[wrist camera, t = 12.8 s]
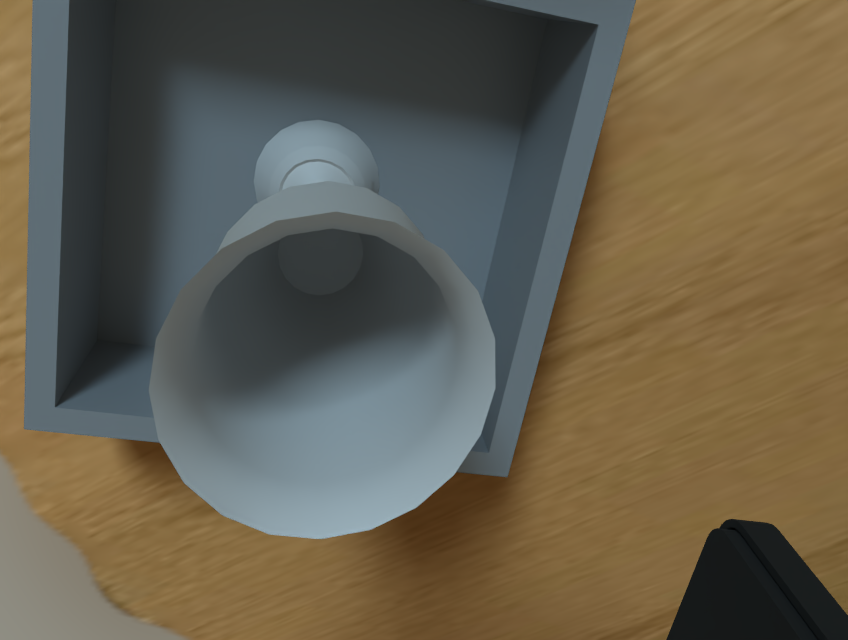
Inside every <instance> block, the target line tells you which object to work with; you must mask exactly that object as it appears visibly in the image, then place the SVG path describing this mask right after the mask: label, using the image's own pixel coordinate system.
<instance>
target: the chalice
mask: <svg viewBox="0 0 848 640" xmlns="http://www.w3.org/2000/svg"><path fill="white" fill-rule="evenodd" d="M254 186H255V192H256V199H257V202H258V203H257V204H255V205H254V206H253V207H252V208H251V209H250V210H249V211H248V212H247V213H246V214H245V215H244V216H243V217H242V218H241V219H240V220H239V221H238V222H237V223H236V224H235V225H234V226H233V227H232V228H231V229H230V230H229V231H228V232H227V234H226V236H225V237H224V239H223V241H222V243H221V245H220V247H219V249H218V251H217V253H216V255H215V256H214V257H213V258H212V259H211V260H210V261H209V262H208V263H207V264H206V265H205V266H204V267H203V268H202V269H201V270H200V271H199V272H198V273H197V274H196V275H195V276H194V277H193V278H192V279H191V280H190V281H189V282H188V283H187V284H186V285H185V286H184V287H183V288H182V289H181V290H180V292H179V294H178V296H177V298H176V300H175V302H174V304H173V306H172V308H171V310H170V312H169V314H168V316H167V318H166V320H165V322H164V324H163V326H162V328H161V330H160V332H159V334H158V336H157V338H156V342H155V349H154V356H153V364H152V371H151V378H150V385H149V395H150V400H151V405H152V410H153V415H154V420H155V425H156V430H157V435H158V440H159V442H160V444H161V445H162V447H163V449H164V450H165V452H166V454H167V455H168V457H169V459H170V460H171V462H172V464H173V465H174V467H175V469H176V470H177V472H178V474H179V475H180V477H181V479H182V480H183V482H184V483H185V484H186V485H187V486H188V487H189V488H191V489H192V490H193V491H194V492H195V493H196V494H198V495H199V496H200V497H201V498H202V499H204V500H205V501H206V502H207V503H208V504H210V505H211V506H212V507H213V508H214V509H215V510H217V511H218V512H219V513H220V514H221V515H223V516H225V517H228V518H230V519H233V520H235V521H238V522H240V523H243V524H245V525H247V526H250V527H252V528H255V529H257V530H260V531H262V532H265V533H267V534H271V535H281V536H292V537H303V538H314V539H324V538H329V537H334V536H340V535H345V534H351V533H356V532H361V531H367V530H371V529H373V528H375V527H377V526H379V525H382V524H384V523H386V522H388V521H390V520H392V519H394V518H396V517H398V516H400V515H402V514H404V513H406V512H408V511H411V510H413V509H415V508H417V507H418V506H419V505H420V504H421V503H422V502H423V501H425V500H426V499H427V498H428V497H429V496H430V495H432V494H433V493H434V492H435V491H436V490H437V489H438V488H440V487H441V486H442V485H443V484H444V483H445V482H447V481H448V480H449V479H450V478H451V477H452V476H454V474H455V473H456V471H457V470H458V468H459V467H460V465H461V464H462V462H463V461H464V459H465V458H466V456H467V455H468V453H469V452H470V450H471V449H472V447H473V446H474V444H475V443H476V441H477V440H478V438H479V437H480V435H481V433H482V430H483V426H484V423H485V420H486V417H487V414H488V410H489V407H490V404H491V401H492V398H493V394H494V391H495V337H494V334H493V332H492V329H491V326H490V323H489V320H488V317H487V315H486V312H485V309H484V306H483V303H482V301H481V298H480V295H479V292H478V290H477V289H476V288H475V287H474V286H473V284H472V283H471V282H470V281H469V280H468V278H467V277H466V276H465V275H464V274H463V272H462V271H461V270H460V269H459V268H458V266H457V265H456V264H455V263H454V262H453V260H452V259H451V258H450V257H449V256H448V254H447V253H446V252H445V251H444V250H443V249H441V248H439V247H438V246H436V245H434V244H432V243H431V242H429V241H427V240H425V238H424V236H423V234H422V233H421V232H420V231H419V230H418V228H417V227H416V226H415V225H414V224H413V223H412V221H411V220H410V219H409V218H408V217H407V215H406V214H405V213H404V212H403V211H402V209H401V208H400V207H399V206H397V205H395V204H394V203H392V202H390V201H388V200H387V199H385V198H383V197H381V196H380V195H378V191H379V187H380V185H379V176H378V167H377V164H376V162H375V160H374V158H373V155H372V153H371V151H370V149H369V148H368V147H367V145H366V144H365V143H364V142H363V141H362V140H361V139H360V138H359V136H358V135H357V134H355V133H354V132H352V131H350V130H348V129H347V128H345V127H343V126H342V125H340V124H337V123H332V122H328V121H323V120H311V121H302V122H297V123H295V124H293V125H291V126H289V127H287V128H284V129H282V130H280V131H279V132H278V133H277V134H276V135H275V136H274V137H273V138H272V139H271V140H270V141H269V142H268V143H267V144H266V145H265V147H264V149H263V151H262V153H261V154H260V156H259V158H258V160H257V163H256V169H255V176H254Z"/></svg>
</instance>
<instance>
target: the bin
mask: <svg viewBox="0 0 848 640" xmlns="http://www.w3.org/2000/svg"><path fill="white" fill-rule="evenodd" d="M635 1H636V0H33V16H32V65H31V114H30V163H29V212H28V261H27V310H26V359H25V408H24V429H27V430H38V431H48V432H58V433H68V434H78V435H88V436H98V437H108V438H118V439H128V440H138V441H148V442H158V443H160V442H159V440H158V435H157V430H156V425H155V420H154V415H153V410H152V405H151V400H150V395H149V385H150V378H151V371H152V364H153V356H154V349H155V342H156V338H157V336H158V334H159V332H160V330H161V328H162V326H163V324H164V322H165V320H166V318H167V316H168V314H169V312H170V310H171V308H172V306H173V304H174V302H175V300H176V298H177V296H178V294H179V292H180V290H181V289H182V288H183V287H184V286H185V285H186V284H187V283H188V282H189V281H190V280H191V279H192V278H193V277H194V276H195V275H196V274H197V273H198V272H199V271H200V270H201V269H202V268H203V267H204V266H205V265H206V264H207V263H208V262H209V261H210V260H211V259H212V258H213V257H214V256H215V255H216V253H217V251H218V249H219V247H220V245H221V243H222V241H223V239H224V237H225V236H226V234H227V232H228V231H229V230H230V229H231V228H232V227H233V226H234V225H235V224H236V223H237V222H238V221H239V220H240V219H241V218H242V217H243V216H244V215H245V214H246V213H247V212H248V211H249V210H250V209H251V208H252V207H253V206H254V205H255V204H257V203H258V202H257V199H256V192H255V186H254V176H255V169H256V163H257V160H258V158H259V156H260V154H261V153H262V151H263V149H264V147H265V145H266V144H267V143H268V142H269V141H270V140H271V139H272V138H273V137H274V136H275V135H276V134H277V133H278V132H279V131H280V130H282V129H284V128H287V127H289V126H291V125H293V124H295V123H297V122H302V121H311V120H323V121H328V122H332V123H337V124H340V125H342V126H343V127H345V128H347V129H348V130H350V131H352V132H354V133H355V134H357V135H358V136H359V138H360V139H361V140H362V141H363V142H364V143H365V144H366V145H367V147H368V148H369V149H370V151H371V153H372V155H373V158H374V160H375V162H376V164H377V167H378V176H379V185H380V187H379V191H378V195H380V196H381V197H383V198H385V199H387V200H388V201H390V202H392V203H394V204H395V205H397V206H399V207H400V208H401V209H402V211H403V212H404V213H405V214H406V215H407V217H408V218H409V219H410V220H411V221H412V223H413V224H414V225H415V226H416V227H417V228H418V230H419V231H420V232H421V233H422V234H423V236H424V238H425V240H427V241H429V242H431V243H432V244H434V245H436V246H438V247H439V248H441V249H443V250H444V251H445V252H446V253H447V254H448V256H449V257H450V258H451V259H452V260H453V262H454V263H455V264H456V265H457V266H458V268H459V269H460V270H461V271H462V272H463V274H464V275H465V276H466V277H467V278H468V280H469V281H470V282H471V283H472V284H473V286H474V287H475V288H476V289H477V290H478V292H479V295H480V298H481V301H482V303H483V306H484V309H485V312H486V315H487V317H488V320H489V323H490V326H491V329H492V332H493V334H494V337H495V391H494V394H493V398H492V401H491V404H490V407H489V410H488V414H487V417H486V420H485V423H484V426H483V430H482V433H481V435H480V437H479V438H478V440H477V441H476V443H475V444H474V446H473V447H472V449H471V450H470V452H469V453H468V455H467V456H466V458H465V459H464V461H463V462H462V464H461V465H460V467H459V468H458V470H457V471H456V472H461V473H471V474H481V475H491V476H501V477H508V473H509V470H510V466H511V462H512V458H513V455H514V451H515V447H516V444H517V440H518V436H519V432H520V429H521V425H522V421H523V418H524V414H525V410H526V406H527V403H528V399H529V395H530V392H531V388H532V384H533V380H534V377H535V373H536V369H537V366H538V362H539V358H540V354H541V351H542V347H543V343H544V340H545V336H546V332H547V328H548V325H549V321H550V317H551V314H552V310H553V306H554V302H555V299H556V295H557V291H558V288H559V284H560V280H561V276H562V273H563V269H564V265H565V262H566V258H567V254H568V250H569V247H570V243H571V239H572V236H573V232H574V228H575V224H576V221H577V217H578V213H579V210H580V206H581V202H582V198H583V195H584V191H585V187H586V184H587V180H588V176H589V172H590V169H591V165H592V161H593V158H594V154H595V150H596V146H597V143H598V139H599V135H600V132H601V128H602V124H603V120H604V117H605V113H606V109H607V106H608V102H609V98H610V94H611V91H612V87H613V83H614V80H615V76H616V72H617V68H618V65H619V61H620V57H621V54H622V50H623V46H624V42H625V39H626V35H627V31H628V27H629V24H630V20H631V16H632V13H633V9H634V5H635Z"/></svg>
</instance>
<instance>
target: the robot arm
mask: <svg viewBox="0 0 848 640" xmlns="http://www.w3.org/2000/svg"><path fill="white" fill-rule="evenodd" d="M667 640H848V615H847V614H846V613H845V612H844V610H843V609H842V608H841V607H840V605H839V604H838V603H837V602H836V600H835V599H834V598H833V597H832V595H831V594H830V593H829V592H828V591H827V589H826V588H825V587H824V586H823V584H822V583H821V582H820V581H819V579H818V578H817V577H816V576H815V574H814V573H813V572H812V571H811V570H810V568H809V567H808V566H807V565H806V563H805V562H804V561H803V560H802V558H801V557H800V556H799V555H798V554H797V552H796V551H795V550H794V549H793V547H792V546H791V545H790V544H789V542H788V541H787V540H786V539H785V537H784V536H783V535H782V534H781V533H780V531H779V530H778V529H777V528H776V527H775V526H774V525H772V524H769V523H764V522H754V521H745V520H736V519H730V520H726V521H725V522H724V523H723V524H722V525H721V526H720V528H717V529H714V530H712V531H711V532H710V534H709V536H708V537H707V540H706V542H705V545H704V547H703V550H702V552H701V555H700V557H699V560H698V562H697V565H696V567H695V570H694V572H693V575H692V577H691V580H690V582H689V585H688V587H687V590H686V592H685V595H684V597H683V600H682V602H681V605H680V607H679V610H678V612H677V615H676V617H675V620H674V622H673V625H672V627H671V630H670V632H669V635H668V637H667Z"/></svg>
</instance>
